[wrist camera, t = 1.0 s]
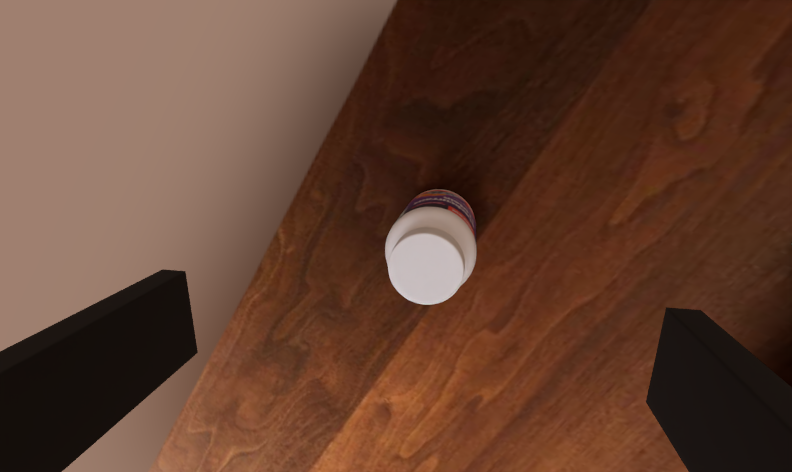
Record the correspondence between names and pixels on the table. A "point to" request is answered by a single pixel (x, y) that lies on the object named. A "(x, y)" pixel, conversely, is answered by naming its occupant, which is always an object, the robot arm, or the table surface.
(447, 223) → the pill bottle
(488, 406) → the table surface
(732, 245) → the table surface
